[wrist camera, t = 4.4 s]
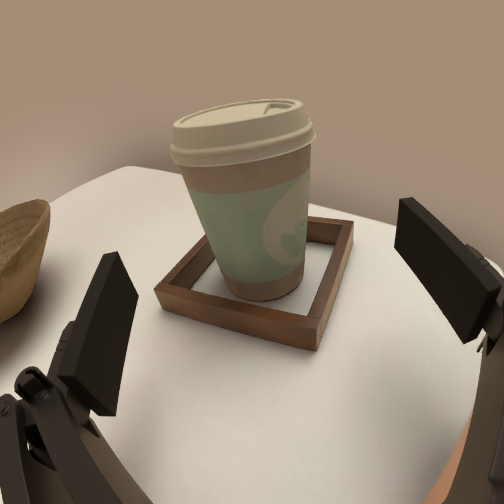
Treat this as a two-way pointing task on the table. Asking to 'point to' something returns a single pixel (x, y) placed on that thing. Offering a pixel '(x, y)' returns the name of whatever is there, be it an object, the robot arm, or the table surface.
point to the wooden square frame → (251, 316)
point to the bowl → (21, 253)
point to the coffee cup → (250, 190)
